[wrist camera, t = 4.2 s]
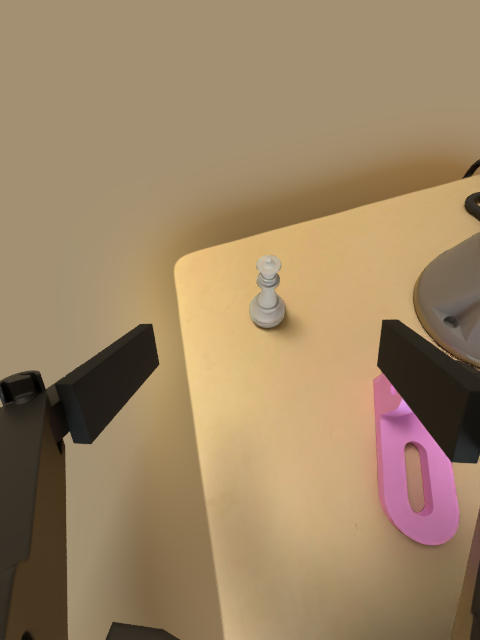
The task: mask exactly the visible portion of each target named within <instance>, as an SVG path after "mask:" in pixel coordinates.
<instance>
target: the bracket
mask: <svg viewBox="0 0 480 640" xmlns="http://www.w3.org/2000/svg"><path fill="white" fill-rule="evenodd" d="M373 381H374V402H375V424H376V445H377V466H378V487H379V498H380V503H381V506H382V508H383V511H384V513H385V514H386V516H387V518H388V519H389V520H390V522H391V523H392V524H393V525H394V526H395V527H396V528H397V529H398V530H399V531H401V532H402V533H404V534H405V535H407V536H408V537H410V538H411V539H413V540H415V541H417V542H419V543H422V544H425V545H440V544H443V543H446V542H447V541H449V540H450V539H451V538H452V537H453V536H454V535H455V533H456V531H457V529H458V525H459V507H458V500H457V494H456V487H455V481H454V474H453V468H452V462H451V461H450V460H449V458H448V457H447V456H446V455H445V453H444V452H443V451H442V449H441V448H440V447H439V445H438V444H437V443H436V442H435V440H434V439H433V438H432V436H431V435H430V434H429V432H428V431H427V430H426V429H425V427H424V426H423V425H422V423H421V422H420V421H419V419H418V418H417V417H416V415H415V414H414V413H413V412H412V410H411V409H410V408H409V406H408V405H407V404H406V402H405V401H404V400H403V399H402V397H401V396H400V395H399V393H398V392H397V391H396V389H395V388H394V387H393V386H392V384H391V383H390V382H389V380H388V379H387V378H386V376H385V375H384V374H383V373H382V374H381V375H379V376H378V377H377V378H375V379H374V380H373ZM408 442H410V443H412V444H414V445H415V446H416V447H417V449H418V450H419V453H420V462H421V471H422V480H423V489H424V499H425V507H424V509H423V510H422V511H421V512H414V511H413V510H412V508H411V507H410V504H409V501H408V489H407V478H406V467H405V455H404V447H405V445H406V444H407V443H408Z"/></svg>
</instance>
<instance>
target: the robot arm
mask: <svg viewBox="0 0 480 640" xmlns="http://www.w3.org/2000/svg"><path fill="white" fill-rule="evenodd" d="M479 167H480V160H478V161H476V162H475V163H474V164H473V165H472V166H471V167H470V168H469V170H468V171H467V172H466V174H465V175H464V177H463V178H462V179H465V178H469V177H471V176H472V175H473V174H474V172H475V171H476V170H477V169H478V168H479ZM476 200H480V192H477V193H474V194H472V195H470V196H468V197H467V199H466V201H465V206H466V207H467V209H468V210H469V211H471V212H472V213H474V214H475V215H477V216H478V217H480V206H479V205H477V204H476V203H475V201H476ZM413 298H414V306H415V310H416V313H417V315H418V318H419V320H420V322H421V323H422V325H423V327H424V328H425V329H426V331H427V332H428V333H429V335H430V336H431V337H432V338H433V339H434V340H435V341H436V342H437V343H438V344H439V345H441V346H442V347H443V348H444V349H446V350H447V351H448V352H450V353H451V354H453V355H454V356H456V357H458V358H459V359H461V360H463V361H465V362H467V363H469V364H471V365H474V366H476V367H479V368H480V232H479V233H477V234H475V235H473V236H472V237H470V238H468V239H466V240H465V241H463V242H461V243H460V244H458V245H456V246H455V247H453V248H451V249H449V250H447V251H445V252H443V253H442V254H440V255H439V256H438V257H437V258H435V259H434V260H433V261H432V262H431V263H430V264H429V265H428V266H427V267H426V268H425V269H424V271H423V272H422V273H421V275H420V276H419V278H418V279H417V281H416V284H415V288H414V295H413ZM158 365H159V360H158V354H157V348H156V343H155V337H154V332H153V326H152V324H140V325H138V326H137V327H135V328H134V329H133V330H131V331H130V332H128V333H127V334H126V335H124V336H122V337H121V338H120V339H118V340H117V341H115V342H114V343H113V344H111V345H110V346H108V347H107V348H105V349H104V350H102V351H101V352H100V353H98V354H97V355H95V356H94V357H92V358H91V359H90V360H88V361H87V362H85V363H84V364H82V365H80V366H79V367H77V368H76V369H75V370H73V371H72V372H70V373H69V374H67V375H66V376H65V377H63V378H62V379H60V380H59V381H57V382H56V383H55V384H53V385H51V386H50V387H49V388H47V389H45V386H44V383H43V380H42V377H41V374H40V372H39V371H25V372H21V373H17V374H14V375H11V376H9V377H7V378H5V379H3V380H1V381H0V399H1V401H2V404H3V407H0V640H68V630H67V629H68V624H67V555H66V553H67V549H66V475H65V444H64V441H63V437H64V436H65V435H66V434H67V433H68V432H69V431H70V433H71V436H72V439H73V442H74V443H79V444H92V442H93V441H94V440H95V439H96V438H97V437H98V435H99V434H100V433H101V432H102V431H103V430H104V428H105V427H106V426H107V425H108V424H109V423H110V421H111V420H112V419H113V418H114V417H115V416H116V414H117V413H118V412H119V411H120V410H121V409H122V407H123V406H124V405H125V404H126V403H127V402H128V400H129V399H130V398H131V397H132V396H133V394H134V393H135V392H136V391H137V390H138V389H139V388H140V386H141V385H142V384H143V383H144V382H145V381H146V379H147V378H148V377H149V376H150V375H151V374H152V372H153V371H154V370H155V369H156V368H157V367H158ZM377 366H378V367H379V369H380V370H381V371H382V373H383V374H384V375H385V376H386V378H387V379H388V380H389V382H390V383H391V384H392V386H393V387H394V388H395V389H396V391H397V392H398V393H399V395H400V396H401V397H402V399H403V400H404V401H405V402H406V404H407V405H408V406H409V408H410V409H411V410H412V412H413V413H414V414H415V415H416V417H417V418H418V419H419V421H420V422H421V423H422V425H423V426H424V427H425V429H426V430H427V431H428V432H429V434H430V435H431V436H432V438H433V439H434V440H435V442H436V443H437V444H438V445H439V447H440V448H441V449H442V451H443V452H444V453H445V455H446V456H447V457H448V458H449V460H450V461H451V462H457V463H477V462H478V458H479V455H480V371H478V370H477V369H475V368H474V367H472V366H470V365H468V364H465V363H463V362H461V361H455V360H454V359H452V358H451V357H449V356H448V355H447V354H445V353H444V352H442V351H441V350H440V349H438V348H437V347H435V346H434V345H433V344H431V343H430V342H428V341H427V340H426V339H424V338H423V337H421V336H420V335H419V334H417V333H416V332H414V331H413V330H412V329H410V328H409V327H407V326H406V325H405V324H403V323H402V322H400V321H399V320H382V329H381V337H380V346H379V354H378V363H377ZM106 640H179V639H178V638H176V637H175V636H173V635H171V634H170V633H168V632H167V631H165V630H163V629H157V628H150V627H144V626H137V625H130V624H123V623H116V622H113V623H112V625H111V628H110V630H109V633H108V635H107V637H106ZM451 640H480V509H479V513H478V518H477V522H476V527H475V532H474V536H473V541H472V545H471V550H470V555H469V559H468V564H467V568H466V573H465V578H464V582H463V587H462V591H461V596H460V601H459V605H458V610H457V614H456V619H455V623H454V628H453V633H452V637H451Z"/></svg>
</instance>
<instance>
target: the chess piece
mask: <svg viewBox="0 0 480 640" xmlns="http://www.w3.org/2000/svg"><path fill="white" fill-rule="evenodd" d="M256 267H257V270H258V271H259V272H260V273H259V274H258V276H257V284H258V286H259V287H260V288H262V290H261V292H260V293H259V294H258V295H256V296H255V297H254V298H253V299H252V300H251V302H250V310H249V313H250V317H251V319H252V321H253V322H254V323H255V324H256V325H258V326H260V327H263V328H271V327H274V326H277V325H278V324H279V323H281V321H282V320H283V318H284V316H285V303H284V301H283V299H282V298H281V297H280V296H279V295H278V294H276V293H275V292H274V289H275V288H276V287H277V286H278V285H279V283H280V277H279V275H278V274H277V272H278V271H279V270H280V268H281V262H280V260H279V259H278V258H277V257H276V256H273V255H265V256H262V257H261V258H259V259H258V261H257V265H256Z"/></svg>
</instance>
